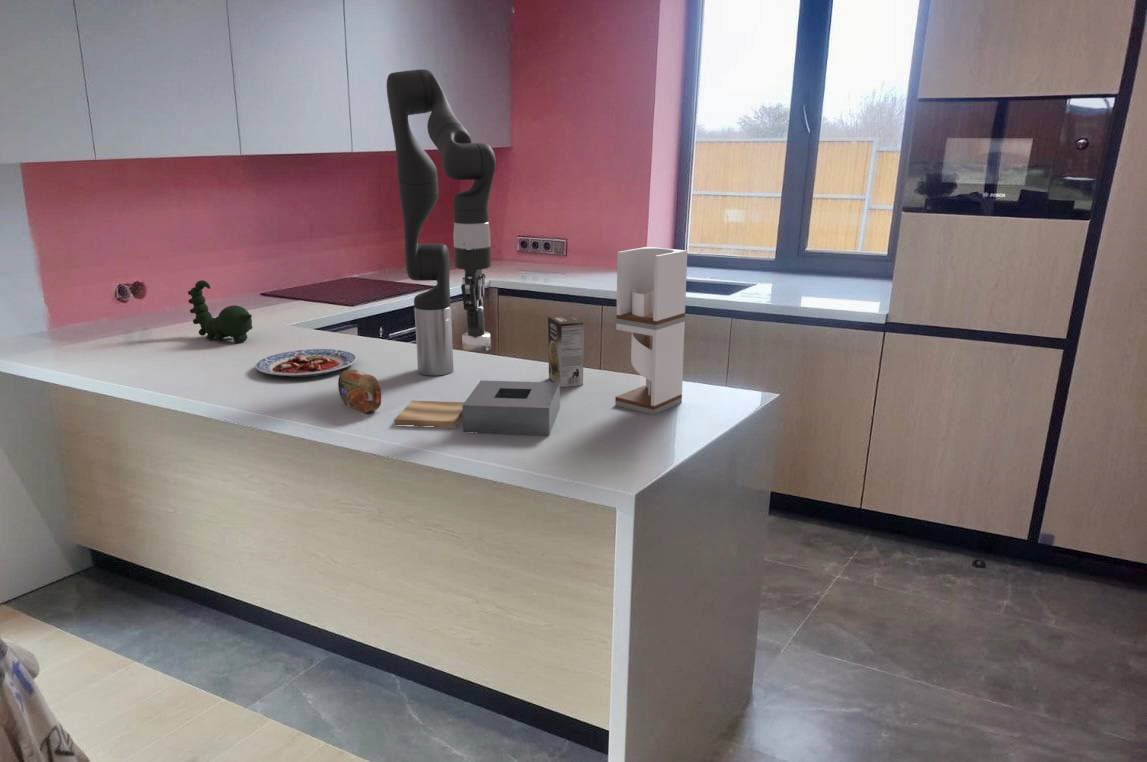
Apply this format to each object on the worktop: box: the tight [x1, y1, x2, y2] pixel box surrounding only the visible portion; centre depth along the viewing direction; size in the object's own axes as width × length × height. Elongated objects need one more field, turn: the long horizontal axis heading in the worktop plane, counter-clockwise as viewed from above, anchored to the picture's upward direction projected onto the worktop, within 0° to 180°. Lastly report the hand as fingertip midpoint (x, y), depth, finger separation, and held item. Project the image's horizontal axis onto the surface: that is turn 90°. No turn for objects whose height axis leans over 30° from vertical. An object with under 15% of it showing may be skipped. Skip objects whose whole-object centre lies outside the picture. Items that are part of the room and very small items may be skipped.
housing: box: [462, 379, 561, 436], centre depth 175 cm, size 18×18×6 cm
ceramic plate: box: [255, 348, 358, 378], centre depth 216 cm, size 26×26×3 cm
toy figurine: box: [187, 279, 253, 344], centre depth 244 cm, size 9×19×25 cm
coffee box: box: [547, 314, 585, 388], centre depth 202 cm, size 9×6×16 cm
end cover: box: [461, 305, 492, 353], centre depth 172 cm, size 6×6×9 cm
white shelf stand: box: [614, 246, 688, 416], centre depth 182 cm, size 11×11×35 cm
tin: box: [337, 369, 382, 414], centre depth 183 cm, size 15×3×8 cm, turn 45°
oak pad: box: [393, 400, 465, 429], centre depth 178 cm, size 13×13×2 cm
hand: (475, 325), depth 172 cm, fingers closed on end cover, 3 cm apart
